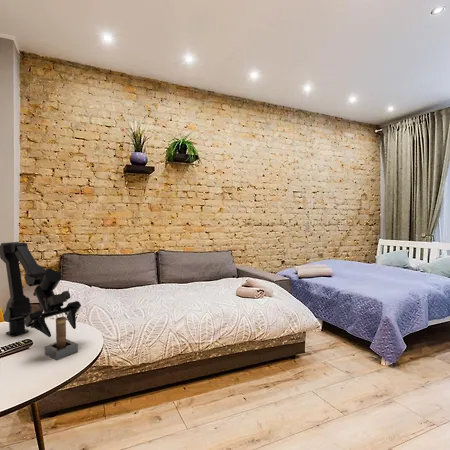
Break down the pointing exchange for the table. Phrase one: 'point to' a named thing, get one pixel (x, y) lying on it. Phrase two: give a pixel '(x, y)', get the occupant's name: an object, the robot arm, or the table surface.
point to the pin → (60, 332)
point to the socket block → (61, 350)
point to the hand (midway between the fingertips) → (63, 332)
